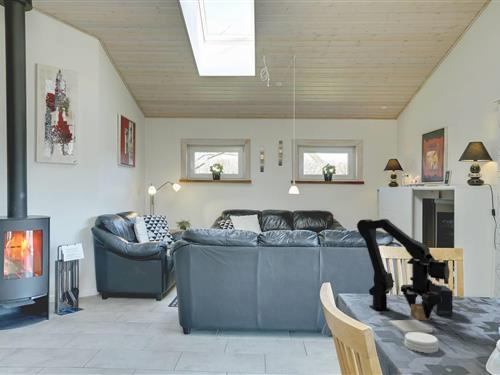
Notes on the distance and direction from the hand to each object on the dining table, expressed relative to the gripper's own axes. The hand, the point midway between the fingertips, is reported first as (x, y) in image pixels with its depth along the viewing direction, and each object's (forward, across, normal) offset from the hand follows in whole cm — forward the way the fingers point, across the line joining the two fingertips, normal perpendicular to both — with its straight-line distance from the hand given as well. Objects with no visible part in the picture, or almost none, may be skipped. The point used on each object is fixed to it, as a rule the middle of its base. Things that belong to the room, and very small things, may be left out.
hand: (420, 314), depth 151 cm
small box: (+2, +6, -14) cm, 15 cm away
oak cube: (+1, 0, 0) cm, 1 cm away
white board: (+1, -10, +11) cm, 15 cm away
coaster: (+2, -27, +18) cm, 32 cm away
